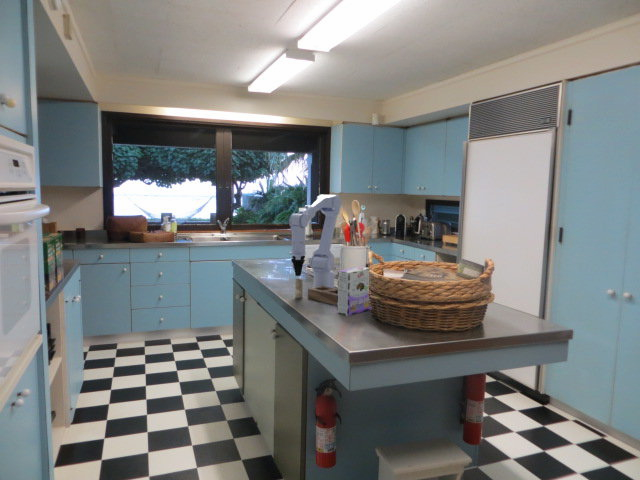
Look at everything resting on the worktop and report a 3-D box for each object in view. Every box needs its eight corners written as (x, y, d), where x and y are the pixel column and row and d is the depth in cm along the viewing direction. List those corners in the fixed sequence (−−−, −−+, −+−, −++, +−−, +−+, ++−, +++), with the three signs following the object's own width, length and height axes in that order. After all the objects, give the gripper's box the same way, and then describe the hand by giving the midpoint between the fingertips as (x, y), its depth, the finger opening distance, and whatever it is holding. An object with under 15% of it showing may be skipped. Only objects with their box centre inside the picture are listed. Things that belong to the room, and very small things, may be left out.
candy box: (360, 306, 184) (361, 265, 182) (371, 309, 179) (372, 267, 178) (336, 313, 174) (337, 270, 172) (348, 316, 170) (348, 272, 168)
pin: (299, 296, 199) (299, 278, 198) (303, 297, 197) (304, 279, 196) (293, 297, 197) (294, 279, 196) (298, 299, 195) (298, 280, 194)
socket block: (322, 294, 203) (322, 285, 202) (350, 301, 192) (350, 291, 191) (308, 298, 196) (308, 288, 196) (335, 305, 185) (335, 295, 185)
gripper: (289, 240, 201) (289, 270, 203) (288, 244, 187) (288, 277, 188) (305, 240, 201) (305, 270, 203) (305, 244, 187) (305, 277, 188)
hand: (298, 274), depth 195 cm, fingers open, 7 cm apart
